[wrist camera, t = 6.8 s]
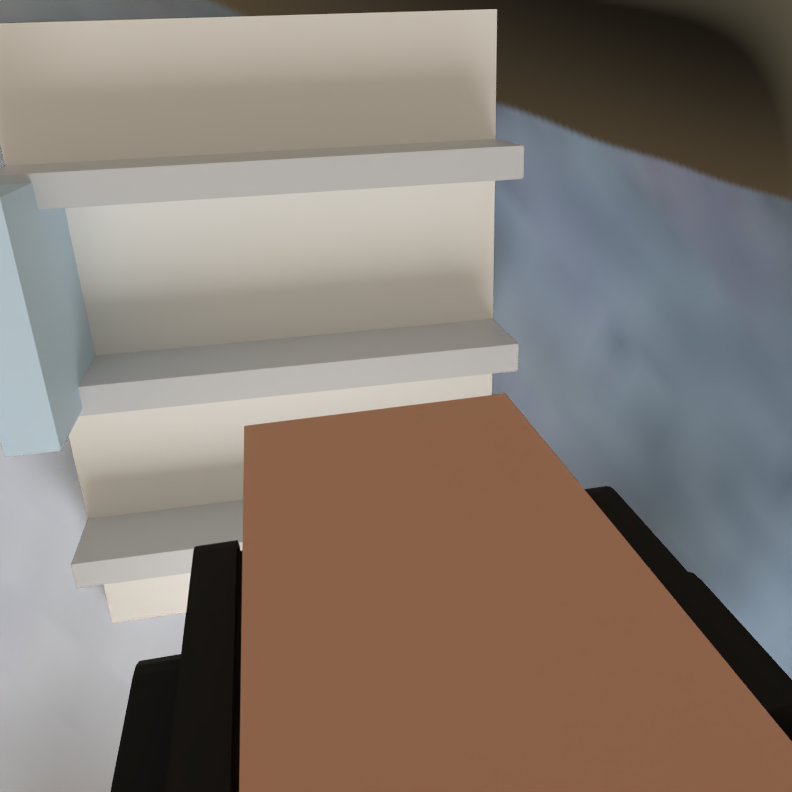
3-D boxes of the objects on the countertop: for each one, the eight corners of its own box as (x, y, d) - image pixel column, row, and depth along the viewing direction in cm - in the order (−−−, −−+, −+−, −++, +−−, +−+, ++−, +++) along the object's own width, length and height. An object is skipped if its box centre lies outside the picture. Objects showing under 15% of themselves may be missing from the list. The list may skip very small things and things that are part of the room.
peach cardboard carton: (505, 393, 12) (934, 915, 4) (504, 602, 13) (818, 1239, 6) (243, 425, 11) (234, 1091, 4) (276, 640, 13) (313, 1398, 5)
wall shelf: (488, 12, 25) (568, -12, 19) (483, 555, 34) (536, 665, 28) (-18, 26, 23) (-120, 5, 16) (116, 607, 31) (82, 740, 25)
